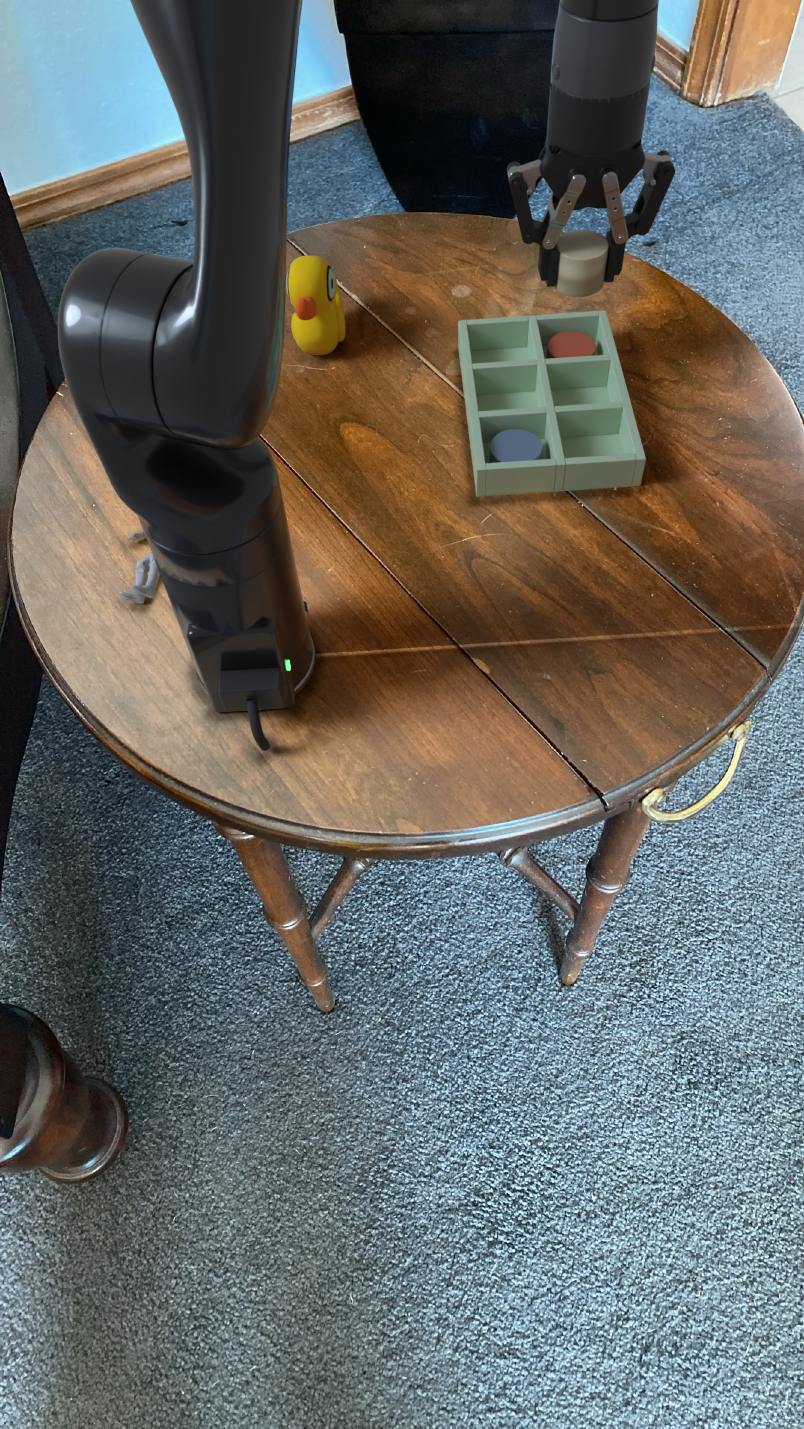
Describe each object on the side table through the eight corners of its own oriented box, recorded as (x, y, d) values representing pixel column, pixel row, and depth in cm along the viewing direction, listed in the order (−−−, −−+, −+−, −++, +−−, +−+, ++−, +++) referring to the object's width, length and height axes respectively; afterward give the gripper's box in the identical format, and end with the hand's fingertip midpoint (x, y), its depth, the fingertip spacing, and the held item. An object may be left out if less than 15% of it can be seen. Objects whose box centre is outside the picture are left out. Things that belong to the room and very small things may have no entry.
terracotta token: (596, 376, 93) (599, 358, 92) (549, 380, 93) (550, 362, 92) (589, 347, 96) (591, 329, 94) (543, 350, 96) (544, 332, 94)
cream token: (607, 295, 86) (613, 257, 83) (556, 299, 86) (559, 260, 83) (599, 265, 89) (604, 227, 86) (549, 269, 89) (552, 231, 86)
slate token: (543, 479, 86) (545, 462, 84) (491, 483, 86) (492, 465, 84) (537, 444, 88) (539, 427, 87) (487, 447, 88) (487, 430, 87)
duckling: (339, 384, 95) (328, 291, 87) (286, 383, 96) (270, 290, 88) (354, 314, 102) (345, 221, 93) (304, 313, 102) (290, 221, 94)
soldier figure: (103, 604, 82) (134, 477, 85) (156, 622, 85) (184, 499, 88) (139, 584, 76) (172, 448, 79) (195, 604, 79) (224, 473, 82)
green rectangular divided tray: (601, 342, 97) (606, 309, 94) (639, 490, 85) (646, 458, 82) (458, 352, 97) (458, 319, 94) (476, 501, 86) (477, 470, 83)
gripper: (685, 40, 75) (649, 250, 89) (501, 54, 75) (494, 261, 90) (707, 86, 71) (665, 298, 85) (511, 101, 71) (503, 310, 85)
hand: (578, 278), depth 87 cm, fingers closed on cream token, 4 cm apart
